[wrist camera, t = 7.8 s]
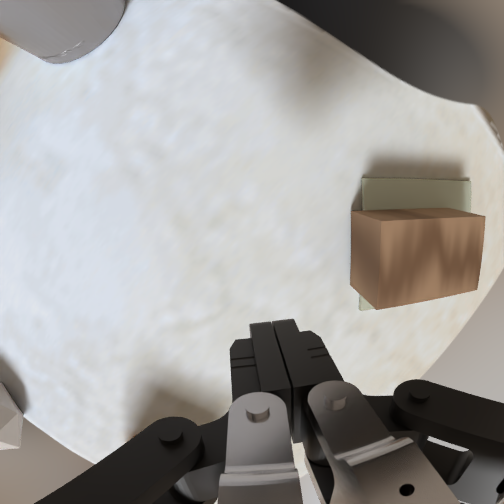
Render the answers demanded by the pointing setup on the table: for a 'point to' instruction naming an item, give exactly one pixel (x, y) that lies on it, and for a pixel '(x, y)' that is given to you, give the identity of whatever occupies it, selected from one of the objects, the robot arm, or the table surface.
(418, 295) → the walnut block
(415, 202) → the mat
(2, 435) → the die
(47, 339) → the table surface
